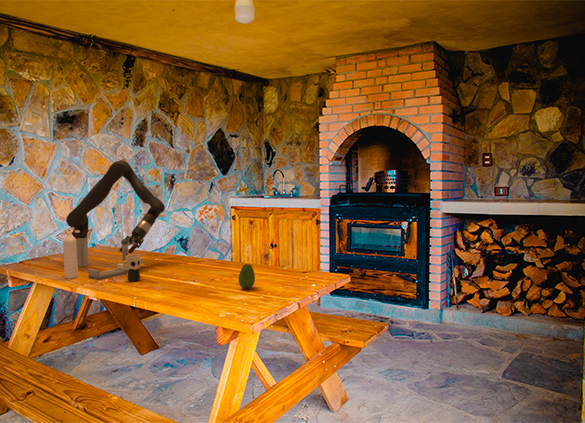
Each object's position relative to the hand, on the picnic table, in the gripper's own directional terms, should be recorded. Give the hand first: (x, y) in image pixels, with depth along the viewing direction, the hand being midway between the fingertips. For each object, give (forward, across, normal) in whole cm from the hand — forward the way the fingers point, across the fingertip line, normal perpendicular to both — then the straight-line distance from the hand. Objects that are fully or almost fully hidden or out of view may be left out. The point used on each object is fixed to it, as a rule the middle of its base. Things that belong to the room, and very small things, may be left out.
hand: (125, 252), depth 240 cm
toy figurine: (+15, +21, +2) cm, 26 cm away
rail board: (+13, 0, +3) cm, 13 cm away
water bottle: (+24, -14, -8) cm, 29 cm away
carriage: (+6, 0, +6) cm, 9 cm away
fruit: (+1, +82, +15) cm, 83 cm away
